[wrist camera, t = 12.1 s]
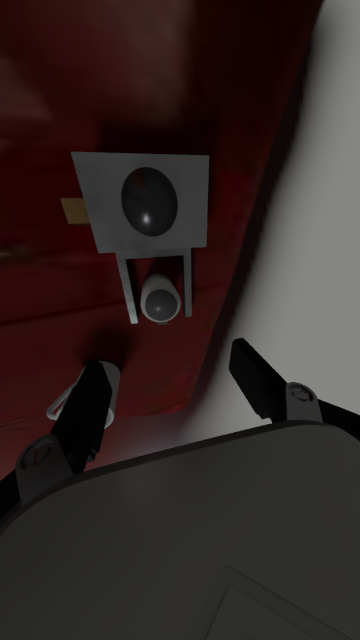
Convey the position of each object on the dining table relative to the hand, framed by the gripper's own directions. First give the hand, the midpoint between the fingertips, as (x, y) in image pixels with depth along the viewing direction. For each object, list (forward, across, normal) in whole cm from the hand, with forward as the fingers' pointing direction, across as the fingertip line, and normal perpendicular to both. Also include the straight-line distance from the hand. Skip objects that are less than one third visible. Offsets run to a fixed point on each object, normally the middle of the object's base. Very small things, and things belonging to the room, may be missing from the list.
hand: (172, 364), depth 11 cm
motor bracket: (+20, +1, -5) cm, 21 cm away
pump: (+20, 0, 0) cm, 20 cm away
